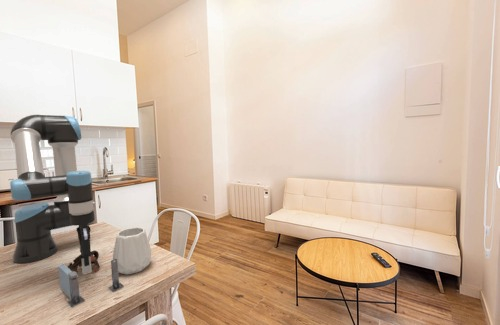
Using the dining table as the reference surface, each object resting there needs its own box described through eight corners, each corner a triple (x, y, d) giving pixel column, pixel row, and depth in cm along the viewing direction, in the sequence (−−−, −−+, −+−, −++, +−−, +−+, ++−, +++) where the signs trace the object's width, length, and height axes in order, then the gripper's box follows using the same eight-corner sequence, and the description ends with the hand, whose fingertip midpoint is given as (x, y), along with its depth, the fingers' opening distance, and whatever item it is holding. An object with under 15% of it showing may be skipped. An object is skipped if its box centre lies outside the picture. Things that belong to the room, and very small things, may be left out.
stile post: (108, 288, 84) (106, 261, 83) (119, 283, 87) (117, 257, 86) (113, 291, 82) (111, 264, 81) (123, 286, 85) (121, 259, 84)
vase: (159, 261, 103) (157, 227, 101) (134, 279, 89) (131, 240, 88) (132, 257, 107) (130, 224, 106) (105, 274, 94) (102, 236, 92)
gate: (80, 300, 77) (77, 274, 77) (74, 302, 76) (71, 276, 75) (65, 285, 86) (63, 261, 85) (60, 287, 84) (57, 263, 84)
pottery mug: (94, 277, 92) (79, 263, 89) (74, 287, 93) (59, 273, 90) (110, 255, 103) (97, 242, 100) (92, 264, 104) (79, 251, 102)
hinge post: (67, 302, 77) (65, 279, 76) (80, 296, 80) (78, 274, 79) (71, 307, 75) (69, 283, 74) (84, 301, 78) (82, 277, 77)
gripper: (96, 213, 87) (101, 275, 89) (91, 207, 97) (95, 262, 99) (71, 218, 82) (77, 283, 84) (68, 210, 92) (73, 269, 94)
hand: (87, 272), depth 91 cm, fingers closed
